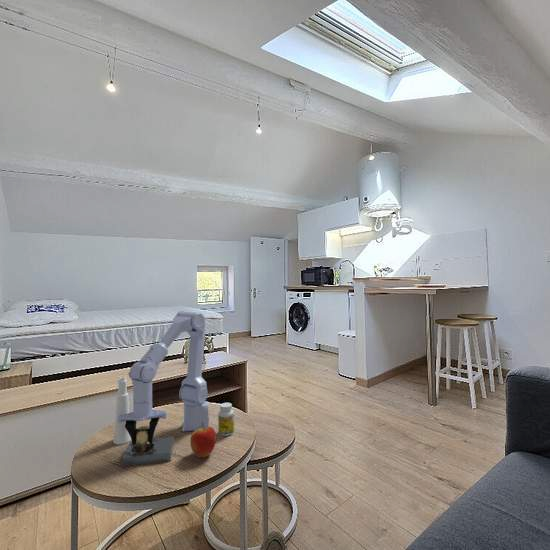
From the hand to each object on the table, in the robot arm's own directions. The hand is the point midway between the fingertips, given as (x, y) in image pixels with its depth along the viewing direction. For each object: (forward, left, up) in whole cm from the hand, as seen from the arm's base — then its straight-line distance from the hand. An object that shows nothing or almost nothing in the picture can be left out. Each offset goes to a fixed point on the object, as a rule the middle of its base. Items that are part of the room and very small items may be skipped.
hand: (142, 442), depth 101 cm
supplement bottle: (-27, -9, -4) cm, 29 cm away
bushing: (0, 0, -2) cm, 2 cm away
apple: (-19, +4, -4) cm, 20 cm away
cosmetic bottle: (+9, -12, -4) cm, 15 cm away
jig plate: (-2, 0, -4) cm, 5 cm away
